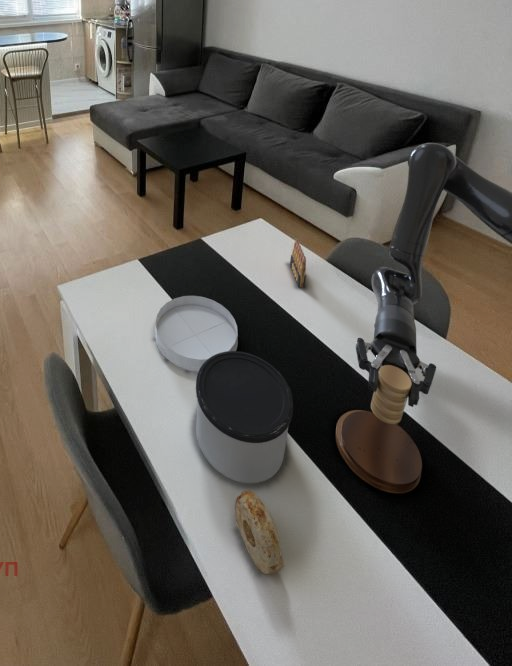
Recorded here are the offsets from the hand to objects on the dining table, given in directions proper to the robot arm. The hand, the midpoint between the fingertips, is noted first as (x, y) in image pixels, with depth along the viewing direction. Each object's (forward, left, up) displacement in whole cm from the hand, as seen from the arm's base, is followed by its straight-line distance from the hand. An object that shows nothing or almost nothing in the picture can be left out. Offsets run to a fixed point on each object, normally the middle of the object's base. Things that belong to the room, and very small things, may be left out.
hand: (393, 395), depth 79 cm
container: (+25, +9, -19) cm, 33 cm away
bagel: (+17, +26, -19) cm, 37 cm away
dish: (+43, -11, -19) cm, 48 cm away
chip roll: (0, -3, -8) cm, 8 cm away
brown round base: (0, -2, -19) cm, 19 cm away
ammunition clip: (+24, -49, -19) cm, 57 cm away
